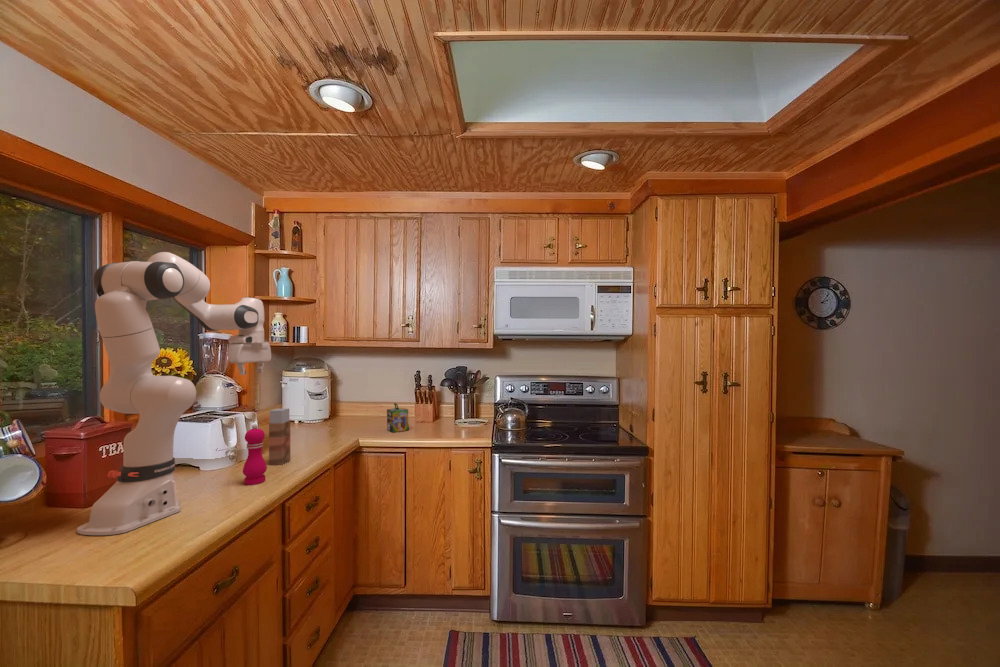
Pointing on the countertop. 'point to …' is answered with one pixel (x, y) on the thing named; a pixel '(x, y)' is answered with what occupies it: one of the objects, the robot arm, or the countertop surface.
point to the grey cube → (279, 415)
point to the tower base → (279, 457)
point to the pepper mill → (254, 457)
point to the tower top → (279, 429)
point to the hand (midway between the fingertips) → (251, 374)
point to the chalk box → (397, 419)
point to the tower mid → (279, 443)
